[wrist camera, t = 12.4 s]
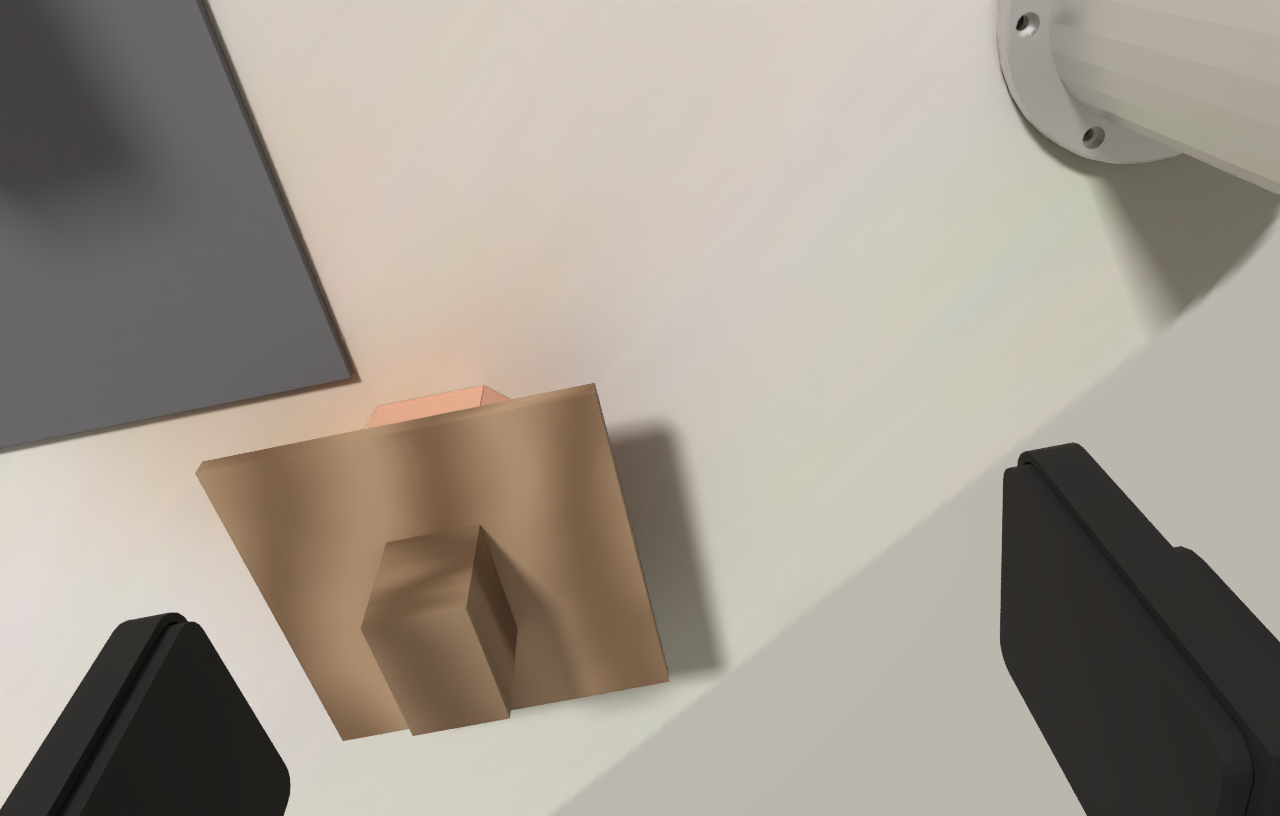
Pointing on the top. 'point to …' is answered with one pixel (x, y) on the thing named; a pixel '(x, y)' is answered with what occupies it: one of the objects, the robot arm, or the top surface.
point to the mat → (139, 226)
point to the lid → (448, 563)
